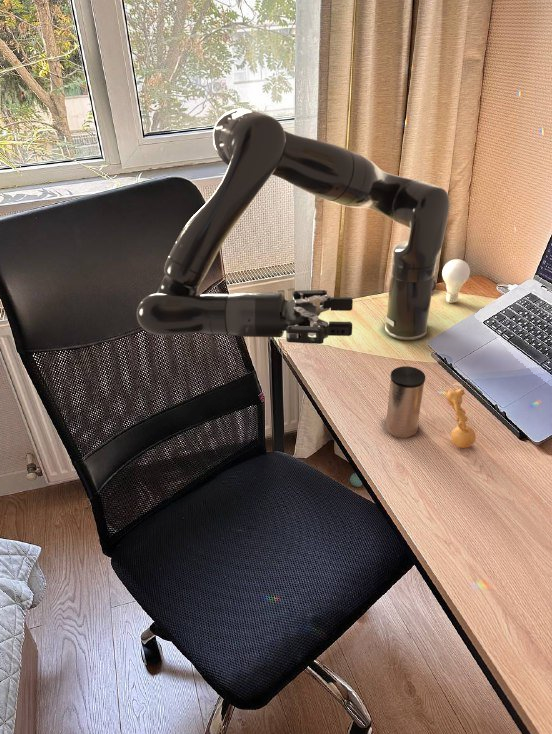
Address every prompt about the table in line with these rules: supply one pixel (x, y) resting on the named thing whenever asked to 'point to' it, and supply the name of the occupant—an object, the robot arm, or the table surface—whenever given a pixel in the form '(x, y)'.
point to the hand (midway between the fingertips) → (352, 316)
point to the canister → (404, 401)
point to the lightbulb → (455, 277)
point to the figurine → (462, 433)
